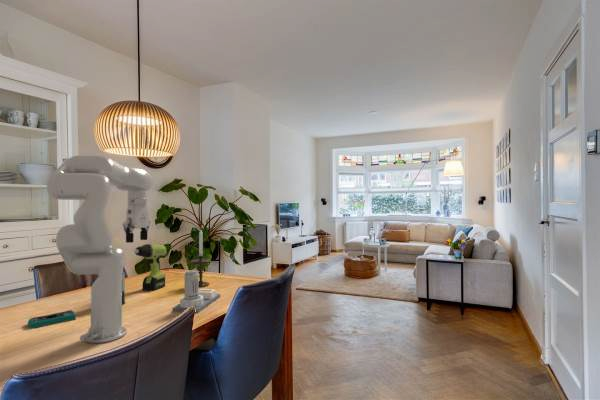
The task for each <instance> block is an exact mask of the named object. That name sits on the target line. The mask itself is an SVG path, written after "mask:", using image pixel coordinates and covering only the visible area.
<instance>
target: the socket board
mask: <svg viewBox="0 0 600 400" xmlns="http://www.w3.org/2000/svg"><path fill="white" fill-rule="evenodd" d="M220 298H221V293H217V289H208V288H199V299H196V300H184V296H181V297H180V298H179V304H177V305H175V306H173V307H172V312H175V313H176V312H178V313H184V312H183V311H184V310H186V309H187V308H188V307H191V306H194V307H195V309H196V313H195V314H198V313H200V312H202V311H203V310H204V309H206V308H207V307H209V306H210V305H211V304H212V303H214V302H215V301H217V300H218V299H220Z"/></svg>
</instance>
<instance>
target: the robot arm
mask: <svg viewBox="0 0 600 400" xmlns="http://www.w3.org/2000/svg"><path fill="white" fill-rule="evenodd" d="M153 181H154V180H153V177H152V175H151V174H150V173H149V172H148V171H146V170H144V169H142V168H137V167H133V166H130V165H124V164H120V163H119V162H117V161H115V160H113V159H111V158H110V157H107V156H105V155H84V154H83V155H73V156H71V157H69V158H68V159H67V160H65V161H64V162H62V164H60V166H58V168H57V169H55V170H54V171H53V173H51V175H50V176H49V177H48V180H47V182H46V192H47V193H48V194H49V196H50V197H52V198H53V199H55V200H62V201H63V200H64V201H68V200H69V201H75V200H76V201H77V200H78V201H79V200H80V201H81V200H83V202H82V203H81V205H80V206H79V207H78V208H77V210H76V212H74V215H73V223H74V224H67V225H66V224H65V225H63V226H62V227H61V228H59V230H58V231H57V233H56V237H55V240H56V241H55V244H56V248H57V251H58V253H59V254H60V257H61V258H62V260H63V262H64V264H65V265H66V268H67V269H68V270H69V272H71V273H72V274H73V275H98V277H96V278H97V279H96V278H95V279H96V281H95V282H94V283H93V285H92V287H91V286H90V326H89V327H88V331H87V332H86V333H83V334H81V335H80V336H79V340H80V341H81V342H84V341H86V342H87V343H89V344H90V343H92V344H100V343H107V342H112V341H115V340H118V339H120V338H122V337H124V336H125V335H126V334H127V330H128V329H127V328H126V327H125V326H123V323H122V322H123V321H122V319H123V317H122V316H123V313H122V312H123V309H122V308H123V307H122V306H123V305H122V274H123V271H124V266H125V262H126V261H125V260H126V255H125V252H124V250H123V249H121V248H119V247H116V246H113V241H114V240H113V235H112V232H111V229H110V227H109V224H108V221H107V217H106V215H105V211H106V207H107V204H108V200H109V196H110V192H111V186H113V187H115V188H117V189H118V190H120V191H124V192H126V191H127V206H126V214H125V220H124V222H123V223H122V227H123V231H124V233H125V243H134V235H135V234H134V230H135V229H140V235H139V237H140V239H139V240H140V241H147V240H148V232H149V227H150V224H151V221H150V219H149V217H150V215H149V208H148V205H147V191H149V190H151V188H152V187H153V183H154V182H153Z"/></svg>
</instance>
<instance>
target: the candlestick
mask: <svg viewBox="0 0 600 400" xmlns="http://www.w3.org/2000/svg"><path fill="white" fill-rule="evenodd" d="M202 229H203V224H201V225H200V230H199V232H198V255H197V257H198V258H195V259H191V260H190V263H191V264H196V265H199V271H197V273H198V274H199V288H206V287H208V286H210V282H208V281H203V277H204V276H203V274H204V271H203V265H204V264H208V263H211V262H212V261H211V258H203V257H204V256H205V254H204V253H203V246H204V245H203V243H204V242H203V231H202ZM203 254H204V255H203Z"/></svg>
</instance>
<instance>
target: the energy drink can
mask: <svg viewBox="0 0 600 400" xmlns="http://www.w3.org/2000/svg"><path fill="white" fill-rule="evenodd" d="M199 281H200V277H199V273H198V270H196V269H190V270H185V273H184V288H183V289H184V300H196V299H199V289H200V287H199Z"/></svg>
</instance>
